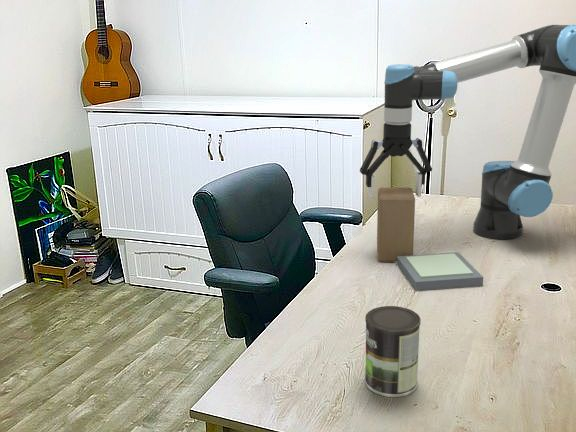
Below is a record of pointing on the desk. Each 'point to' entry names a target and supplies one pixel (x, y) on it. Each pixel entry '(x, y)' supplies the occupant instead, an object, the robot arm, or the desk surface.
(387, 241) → the wooden block
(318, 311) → the desk surface
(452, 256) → the plinth
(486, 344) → the desk surface
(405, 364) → the coffee can
